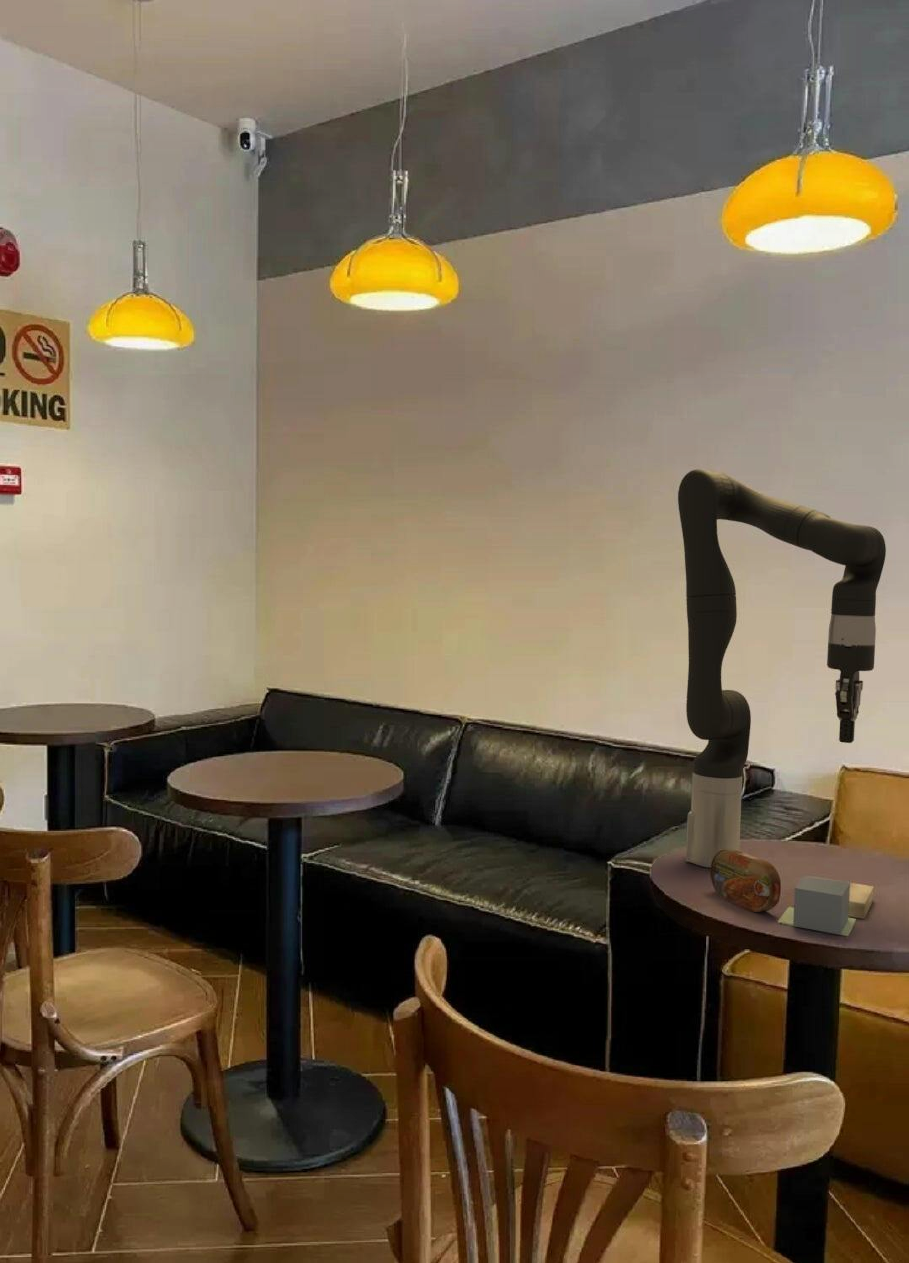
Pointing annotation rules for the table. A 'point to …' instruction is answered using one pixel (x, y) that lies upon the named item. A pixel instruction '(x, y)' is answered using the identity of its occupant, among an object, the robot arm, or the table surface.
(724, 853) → the tin
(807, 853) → the table surface
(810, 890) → the box
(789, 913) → the mat
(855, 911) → the block
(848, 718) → the robot arm
